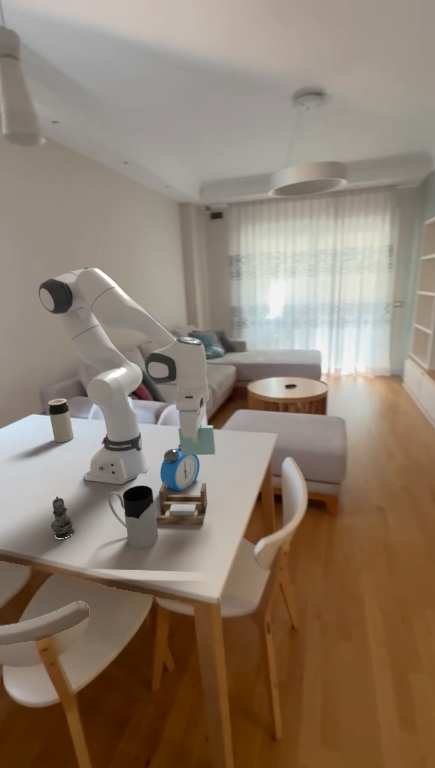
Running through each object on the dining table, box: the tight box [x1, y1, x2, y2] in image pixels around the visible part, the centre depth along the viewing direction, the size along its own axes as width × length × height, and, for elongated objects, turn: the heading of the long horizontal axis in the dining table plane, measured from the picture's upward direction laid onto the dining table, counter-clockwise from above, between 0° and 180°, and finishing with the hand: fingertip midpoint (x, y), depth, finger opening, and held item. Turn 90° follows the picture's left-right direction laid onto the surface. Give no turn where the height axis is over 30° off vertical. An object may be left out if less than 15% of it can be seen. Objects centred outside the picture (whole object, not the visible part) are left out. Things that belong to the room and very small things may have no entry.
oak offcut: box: [165, 509, 198, 516], centre depth 108 cm, size 9×3×2 cm, turn 84°
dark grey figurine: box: [50, 496, 75, 538], centre depth 104 cm, size 6×6×12 cm
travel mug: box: [47, 398, 74, 443], centre depth 167 cm, size 8×8×18 cm
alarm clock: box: [159, 443, 201, 492], centre depth 124 cm, size 13×6×15 cm, turn 143°
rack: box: [156, 482, 208, 525], centre depth 109 cm, size 13×10×8 cm
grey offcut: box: [169, 504, 196, 516], centre depth 107 cm, size 7×3×2 cm, turn 84°
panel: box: [177, 424, 216, 456], centre depth 112 cm, size 10×2×8 cm, turn 83°
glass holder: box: [107, 485, 159, 549], centre depth 100 cm, size 9×14×15 cm, turn 66°
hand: (196, 438), depth 112 cm, fingers closed on panel, 2 cm apart
